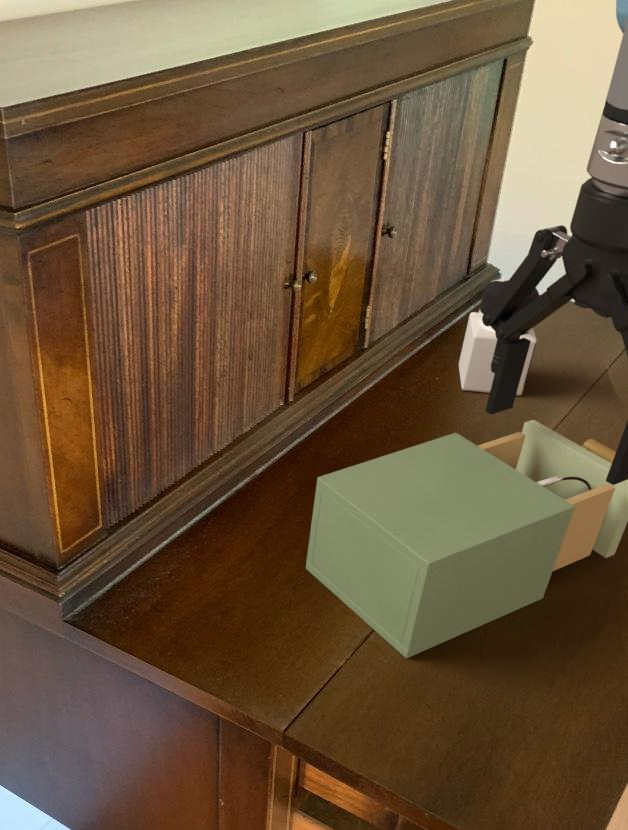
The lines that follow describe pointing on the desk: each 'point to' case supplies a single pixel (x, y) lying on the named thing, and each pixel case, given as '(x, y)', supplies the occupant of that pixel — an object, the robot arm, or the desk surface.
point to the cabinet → (434, 540)
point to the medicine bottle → (488, 345)
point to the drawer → (571, 486)
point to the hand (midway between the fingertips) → (556, 442)
